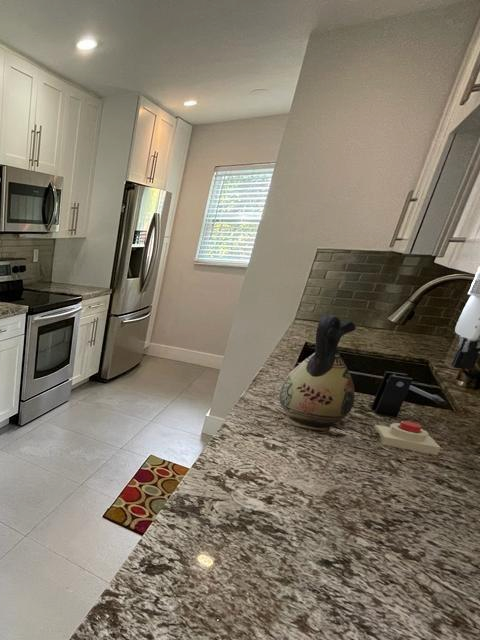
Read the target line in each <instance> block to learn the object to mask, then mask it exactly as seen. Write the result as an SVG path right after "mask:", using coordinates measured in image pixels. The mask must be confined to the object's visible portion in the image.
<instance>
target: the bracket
mask: <svg viewBox="0 0 480 640" xmlns="http://www.w3.org/2000/svg"><path fill="white" fill-rule="evenodd" d="M393 374H394V375H396V376H392V375H393ZM387 380H388V382H387ZM413 381H414V379H413V378H412V377H408V373H401V372H395V371H394V372H393V371H384V374H383V377H382V379H381V381H380V383H379V387H378V389H377V391H376V394H375V396H374V399H373V401H372V404H371V406H370V409H372V410H375V411H374V414H375V415H380V416H386V417H391V418H397V417H398V415H399V413H400V410H401V408H402V406H403V403H404V402H405V399H406V397H407V394H408V392H409V391H410V390H409V388H410V385H411V386H412V383H413Z"/></svg>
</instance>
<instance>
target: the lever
mask: <svg viewBox="0 0 480 640" xmlns="http://www.w3.org/2000/svg"><path fill="white" fill-rule="evenodd" d="M392 376H396V375H394V374H393V375H392ZM387 382H388V380H387ZM408 391H412V392H414V393H416V394H418V395H420V396H422V397H425V398H427V399H429V400H432V401H433V402H434V403H436V404H437V406H439V407H445V406H446V405H447V401H445V400H444V399H443V398H442V397H440V395H438V394H434V393H433V394H431V393H429V392H426V391H425V390H422V389H420V388H418V387H416V386H413V385H412V384H411V385H410V388H409V390H408Z"/></svg>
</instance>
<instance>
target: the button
mask: <svg viewBox="0 0 480 640" xmlns="http://www.w3.org/2000/svg"><path fill="white" fill-rule="evenodd" d="M422 427H423V426H422V425H421V424H419V423H416V422H414V421H409V420H401V421H400V426H399V428H400V429H402V430H405V431H408V432H413V433H419V432H420V430H421V429H422Z"/></svg>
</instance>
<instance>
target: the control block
mask: <svg viewBox="0 0 480 640" xmlns="http://www.w3.org/2000/svg"><path fill="white" fill-rule="evenodd" d="M400 423H401V422H400ZM400 423H399V422H393V423H391V424H390V425H389V426H385V425H380V424H374V426H373V428H374V429H375V431H376V432H377V433H378V434H379V435H376V434H375V435H374V436H375V437H376V439H377V440H378V442H379V444H380V445H383V446H384V445H385V446H389V447H394V448H398V449H404V450H409V451H414V452H418V453H423V454H429V455H433V456H438V455H439V453H440V451H441V449H442V448H441V446H440V445H439V444H438V443H437V442H436V441H435V440H434V439H433V437H431V436H430V434H429V432H428V431H427V430H425V429H422V428H421V430H420V432H419V433H413V432H408V431H405V430H402V429H400V428H399V426H400Z"/></svg>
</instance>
